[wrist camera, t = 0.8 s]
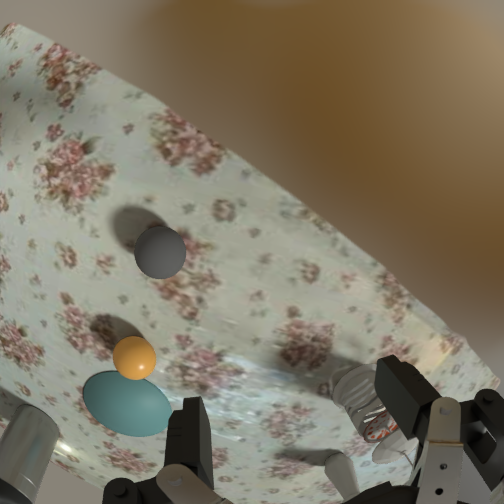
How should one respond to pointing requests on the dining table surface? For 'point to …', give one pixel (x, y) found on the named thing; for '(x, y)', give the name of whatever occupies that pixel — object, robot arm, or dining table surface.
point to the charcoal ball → (160, 252)
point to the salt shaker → (342, 475)
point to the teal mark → (127, 404)
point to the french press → (381, 427)
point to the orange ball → (134, 358)
